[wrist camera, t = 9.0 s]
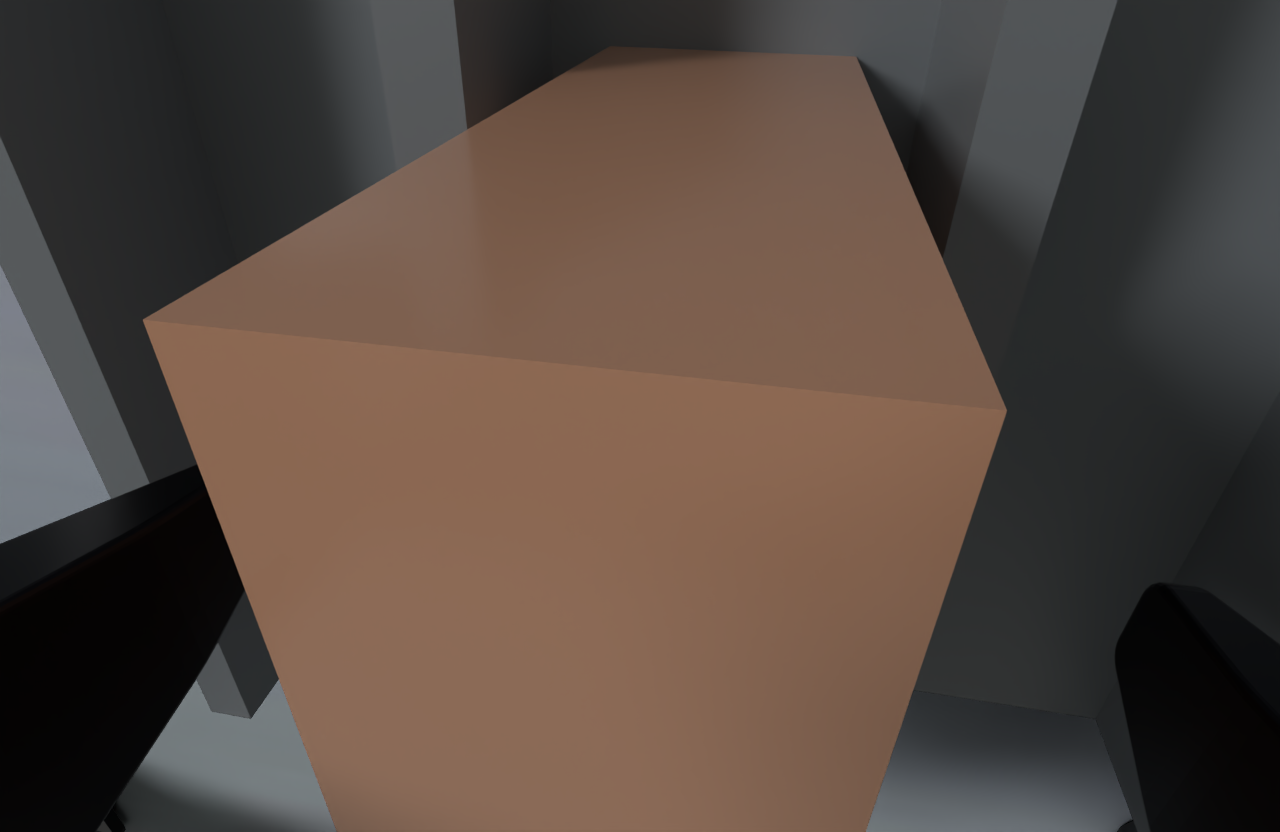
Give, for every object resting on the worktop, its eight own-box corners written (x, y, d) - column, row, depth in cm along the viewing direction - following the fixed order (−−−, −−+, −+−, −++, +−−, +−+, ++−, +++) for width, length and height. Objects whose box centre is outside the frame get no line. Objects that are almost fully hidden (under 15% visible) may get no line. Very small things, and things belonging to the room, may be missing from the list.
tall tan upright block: (777, 553, 13) (752, 1168, 7) (612, 530, 14) (433, 1088, 7) (856, 56, 9) (1006, 409, 2) (609, 45, 9) (142, 320, 3)
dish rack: (1130, 699, 14) (1214, 897, 11) (315, 574, 17) (211, 711, 14) (1702, -277, 7) (2402, -439, 4) (67, -249, 9) (-285, -336, 6)
